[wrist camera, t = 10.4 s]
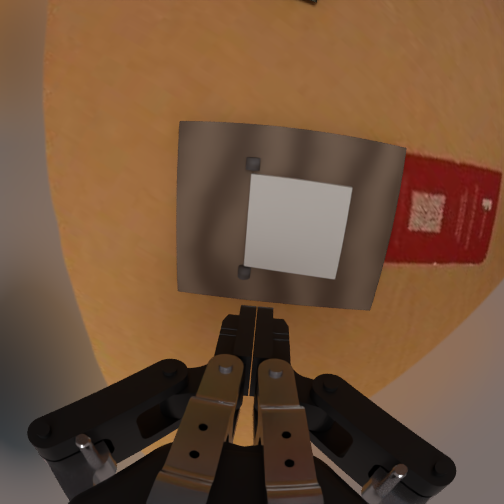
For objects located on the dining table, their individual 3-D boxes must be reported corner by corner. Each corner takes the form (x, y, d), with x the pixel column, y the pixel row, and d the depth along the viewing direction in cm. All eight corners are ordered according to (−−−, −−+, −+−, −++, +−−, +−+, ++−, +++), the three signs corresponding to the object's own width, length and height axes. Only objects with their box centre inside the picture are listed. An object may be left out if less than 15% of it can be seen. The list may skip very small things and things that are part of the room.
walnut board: (401, 146, 30) (411, 149, 27) (367, 304, 38) (372, 316, 35) (183, 121, 31) (175, 120, 28) (181, 285, 38) (174, 297, 36)
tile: (251, 174, 30) (253, 172, 31) (243, 265, 34) (245, 262, 35) (352, 187, 29) (350, 186, 29) (335, 279, 32) (334, 275, 33)
